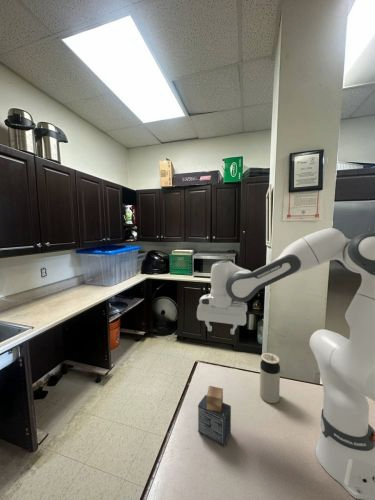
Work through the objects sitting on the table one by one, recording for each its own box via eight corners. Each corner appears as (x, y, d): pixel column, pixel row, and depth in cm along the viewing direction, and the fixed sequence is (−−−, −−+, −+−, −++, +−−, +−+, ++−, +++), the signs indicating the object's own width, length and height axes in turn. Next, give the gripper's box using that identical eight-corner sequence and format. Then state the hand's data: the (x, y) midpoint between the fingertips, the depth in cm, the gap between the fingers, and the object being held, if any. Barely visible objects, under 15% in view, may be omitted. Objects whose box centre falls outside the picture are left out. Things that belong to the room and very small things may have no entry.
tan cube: (222, 401, 77) (222, 388, 76) (220, 412, 72) (221, 398, 71) (209, 398, 78) (209, 385, 78) (206, 409, 73) (206, 395, 73)
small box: (231, 432, 76) (231, 405, 75) (224, 448, 70) (225, 418, 69) (205, 419, 81) (205, 393, 81) (197, 432, 76) (197, 404, 75)
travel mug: (269, 406, 87) (270, 365, 86) (256, 393, 94) (256, 355, 93) (283, 400, 90) (284, 360, 89) (269, 388, 98) (269, 350, 96)
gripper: (247, 299, 86) (247, 332, 87) (199, 295, 92) (199, 326, 93) (247, 304, 80) (246, 339, 81) (195, 299, 86) (195, 332, 87)
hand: (220, 332), depth 87 cm, fingers open, 8 cm apart
